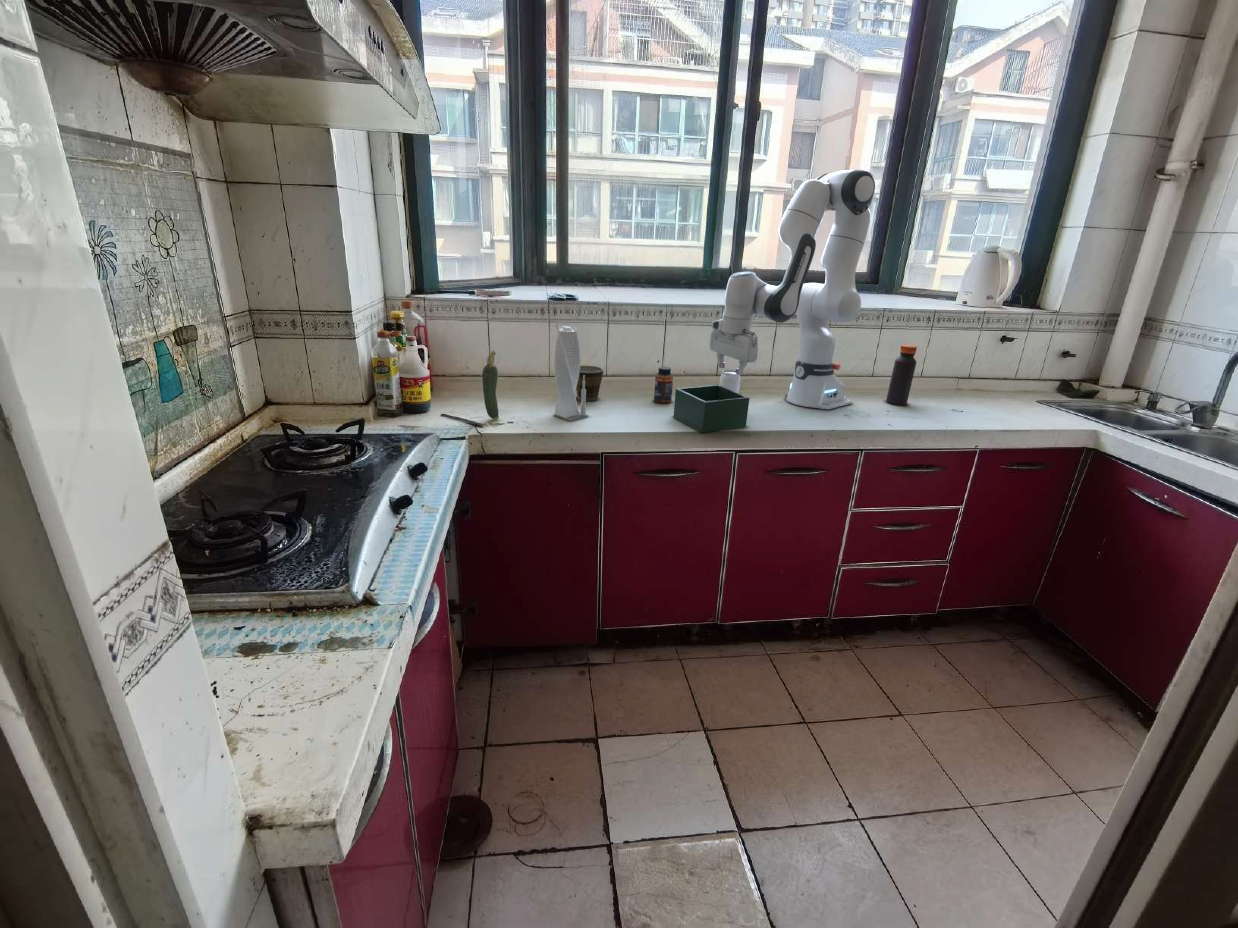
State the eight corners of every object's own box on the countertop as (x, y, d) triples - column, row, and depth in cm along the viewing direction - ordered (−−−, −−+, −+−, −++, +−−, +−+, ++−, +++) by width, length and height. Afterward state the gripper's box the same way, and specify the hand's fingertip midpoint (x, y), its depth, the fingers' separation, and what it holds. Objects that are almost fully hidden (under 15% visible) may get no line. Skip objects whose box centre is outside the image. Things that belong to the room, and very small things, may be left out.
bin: (715, 412, 188) (718, 384, 184) (745, 427, 175) (749, 397, 172) (673, 417, 181) (675, 388, 178) (702, 432, 168) (705, 402, 165)
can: (736, 412, 189) (741, 375, 184) (716, 410, 190) (720, 373, 185) (737, 406, 195) (741, 370, 190) (717, 404, 196) (721, 369, 191)
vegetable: (486, 422, 168) (483, 352, 161) (482, 418, 172) (479, 349, 164) (501, 421, 170) (499, 351, 163) (497, 416, 174) (494, 348, 166)
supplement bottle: (674, 401, 198) (677, 367, 193) (666, 404, 193) (668, 370, 189) (659, 397, 201) (661, 364, 196) (650, 401, 196) (652, 367, 192)
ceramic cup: (585, 392, 202) (585, 364, 198) (608, 398, 197) (609, 369, 193) (560, 400, 192) (560, 370, 189) (583, 406, 187) (584, 375, 183)
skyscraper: (566, 422, 172) (567, 324, 161) (548, 415, 177) (548, 320, 166) (587, 416, 178) (589, 322, 167) (568, 410, 183) (570, 318, 172)
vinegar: (910, 404, 207) (924, 347, 200) (899, 406, 204) (912, 348, 196) (893, 399, 212) (905, 343, 205) (881, 401, 209) (894, 345, 201)
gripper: (765, 332, 175) (758, 378, 180) (724, 321, 192) (719, 363, 197) (749, 332, 172) (742, 379, 177) (708, 321, 189) (703, 364, 194)
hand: (730, 371), depth 187 cm, fingers open, 8 cm apart
